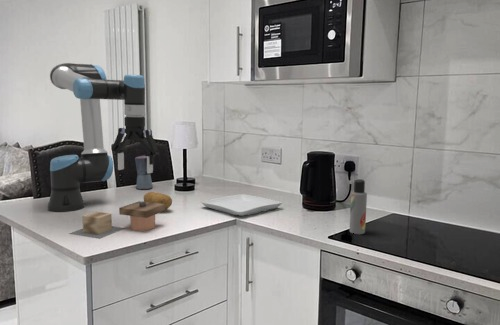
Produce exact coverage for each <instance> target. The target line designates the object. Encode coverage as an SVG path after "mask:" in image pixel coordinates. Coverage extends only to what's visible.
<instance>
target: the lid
mask: <svg viewBox="0 0 500 325" xmlns="http://www.w3.org/2000/svg"><path fill="white" fill-rule="evenodd" d="M118 211H119V212H118V213H119V214H118V215H121V216H128V217H130V216H135V217H143V218H148V217H150V216H153V215H155V216H156V215H157V214H160V213H162V212H165V211H166V210H165V204H158V203H150V202H144V200H143V201H142V200H141V201H140V200H139V201H135V202H133V203H129V204H127V205H124V206H120V207H119V210H118Z"/></svg>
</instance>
